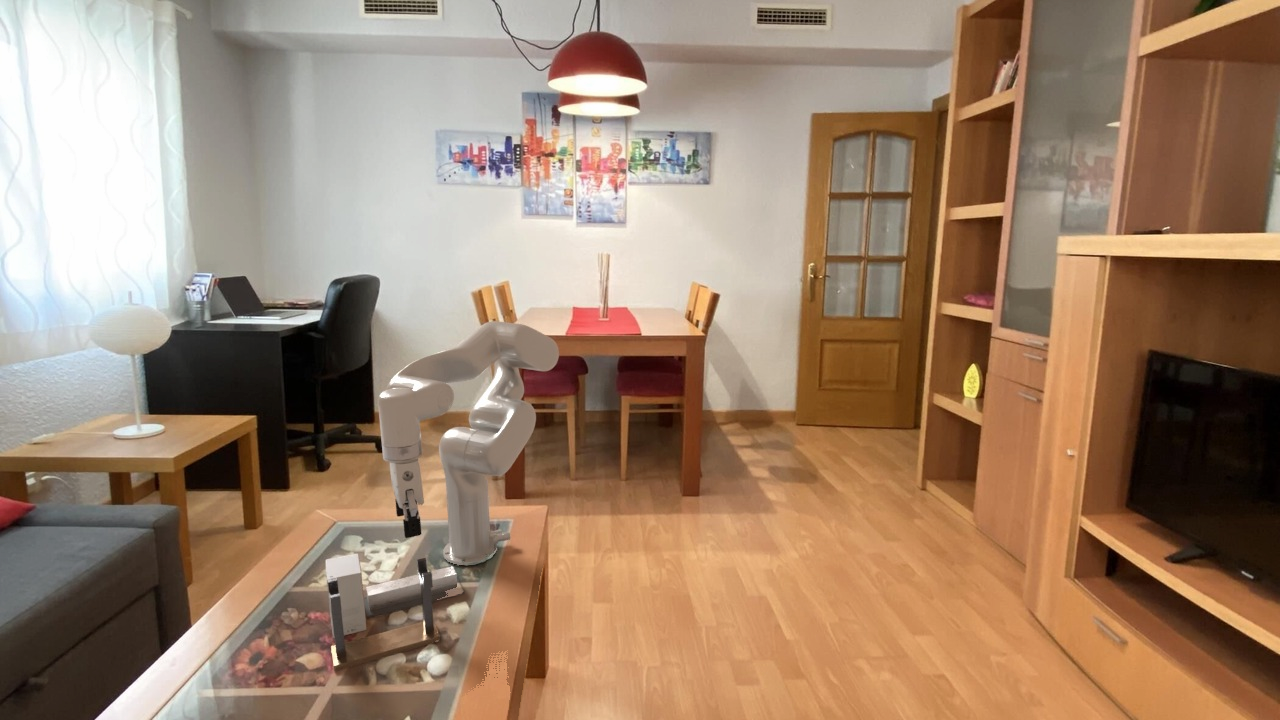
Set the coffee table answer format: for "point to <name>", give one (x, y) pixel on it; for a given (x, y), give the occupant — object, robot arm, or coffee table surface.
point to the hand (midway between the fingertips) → (408, 525)
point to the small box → (348, 591)
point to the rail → (409, 588)
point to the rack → (385, 641)
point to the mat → (397, 606)
